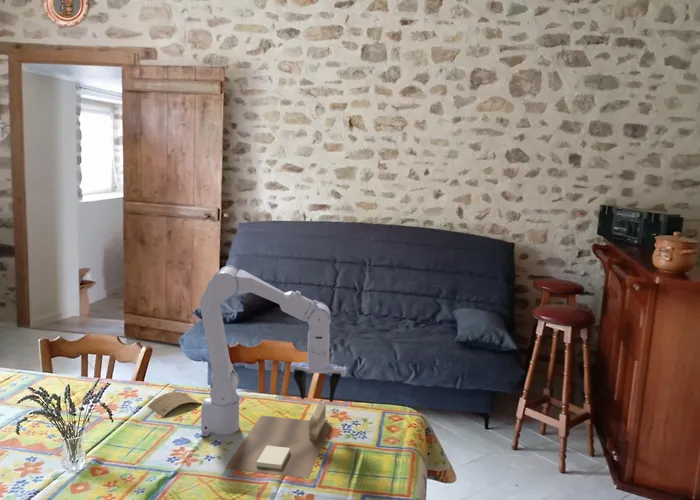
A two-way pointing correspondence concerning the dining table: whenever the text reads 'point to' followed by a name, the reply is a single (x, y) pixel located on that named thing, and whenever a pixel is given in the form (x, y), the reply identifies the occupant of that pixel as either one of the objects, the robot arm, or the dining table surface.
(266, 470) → the board
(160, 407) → the brown curved sheet
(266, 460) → the tile
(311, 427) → the beige long rectangular bar
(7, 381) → the dining table surface
